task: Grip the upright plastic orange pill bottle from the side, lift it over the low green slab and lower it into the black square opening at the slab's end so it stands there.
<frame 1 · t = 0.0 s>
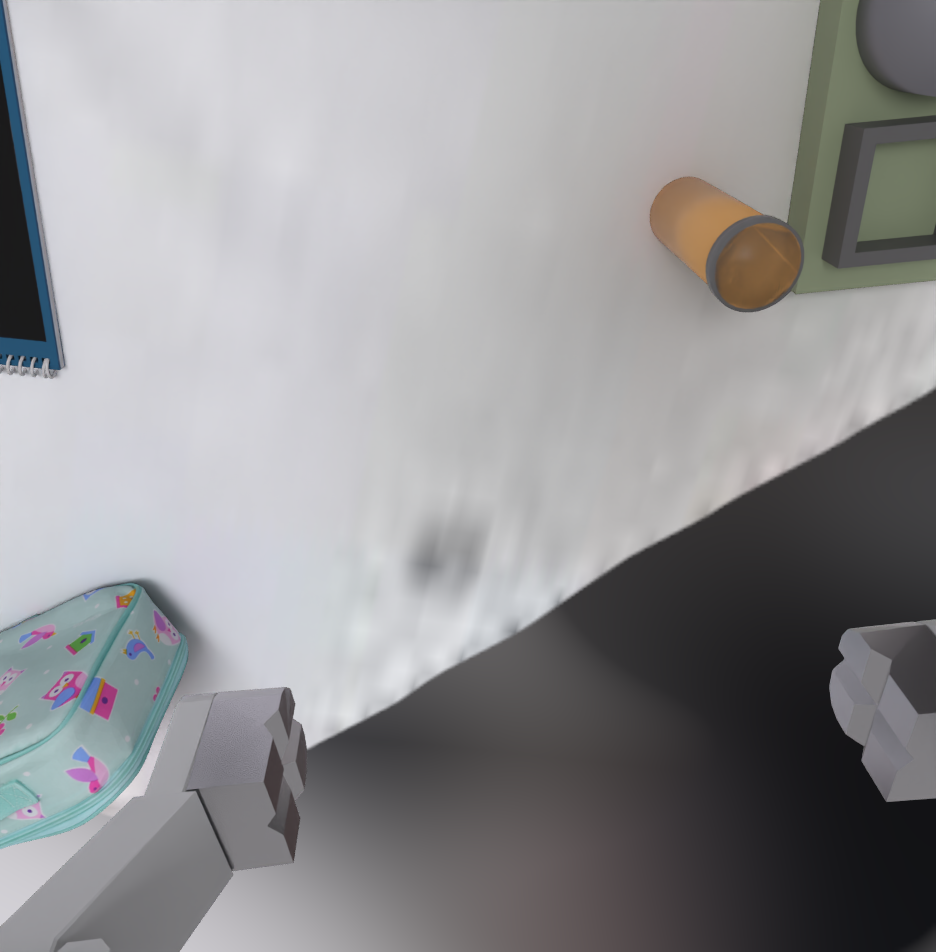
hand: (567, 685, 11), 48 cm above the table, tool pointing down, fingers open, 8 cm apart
orange pill bottle: (683, 212, 54), on the table
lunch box: (68, 642, 73), on the table
green slab: (889, 104, 51), on the table
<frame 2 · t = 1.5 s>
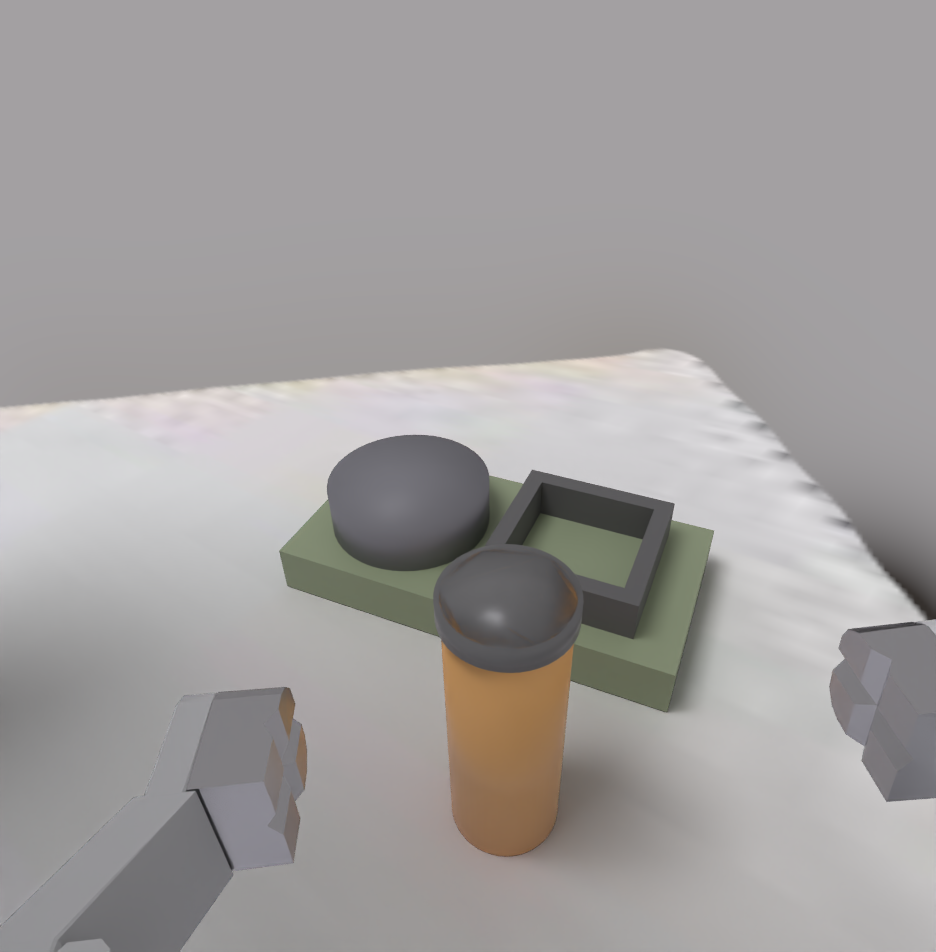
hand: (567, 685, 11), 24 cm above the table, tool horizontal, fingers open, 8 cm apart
orange pill bottle: (504, 802, 35), on the table
green slab: (498, 575, 47), on the table
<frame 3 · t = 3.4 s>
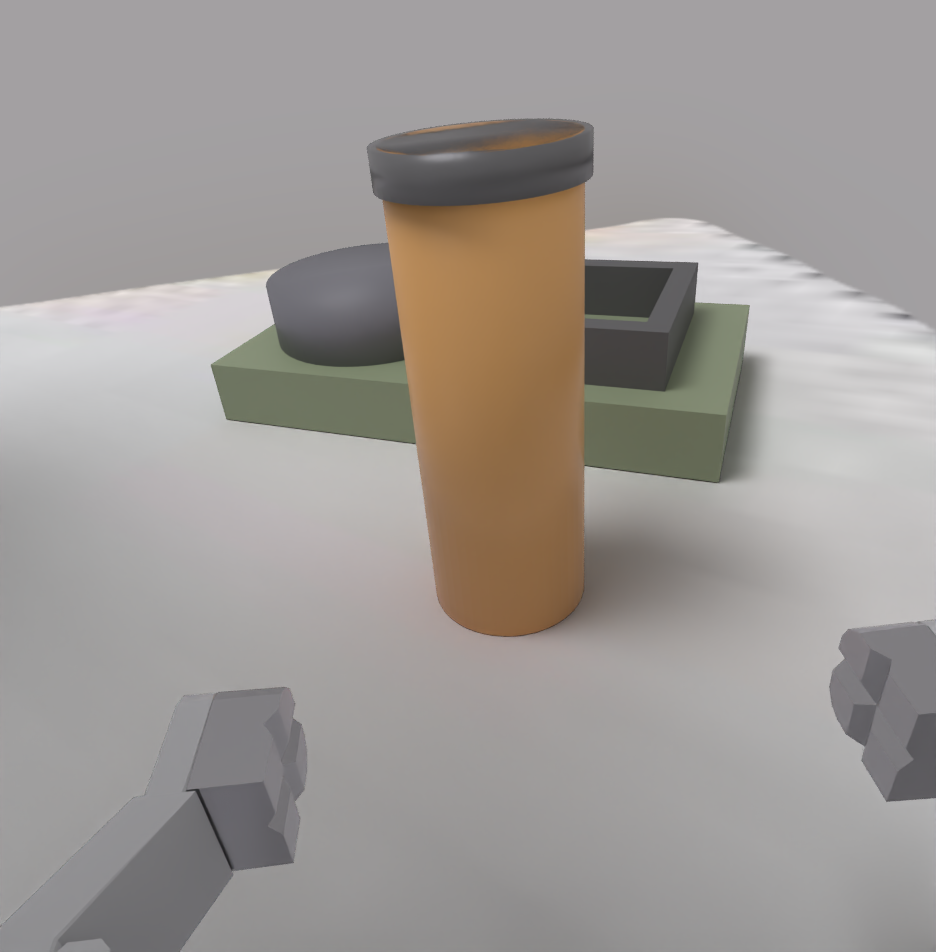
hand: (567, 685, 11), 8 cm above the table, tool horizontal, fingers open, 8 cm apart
orange pill bottle: (509, 583, 25), on the table
green slab: (487, 389, 38), on the table
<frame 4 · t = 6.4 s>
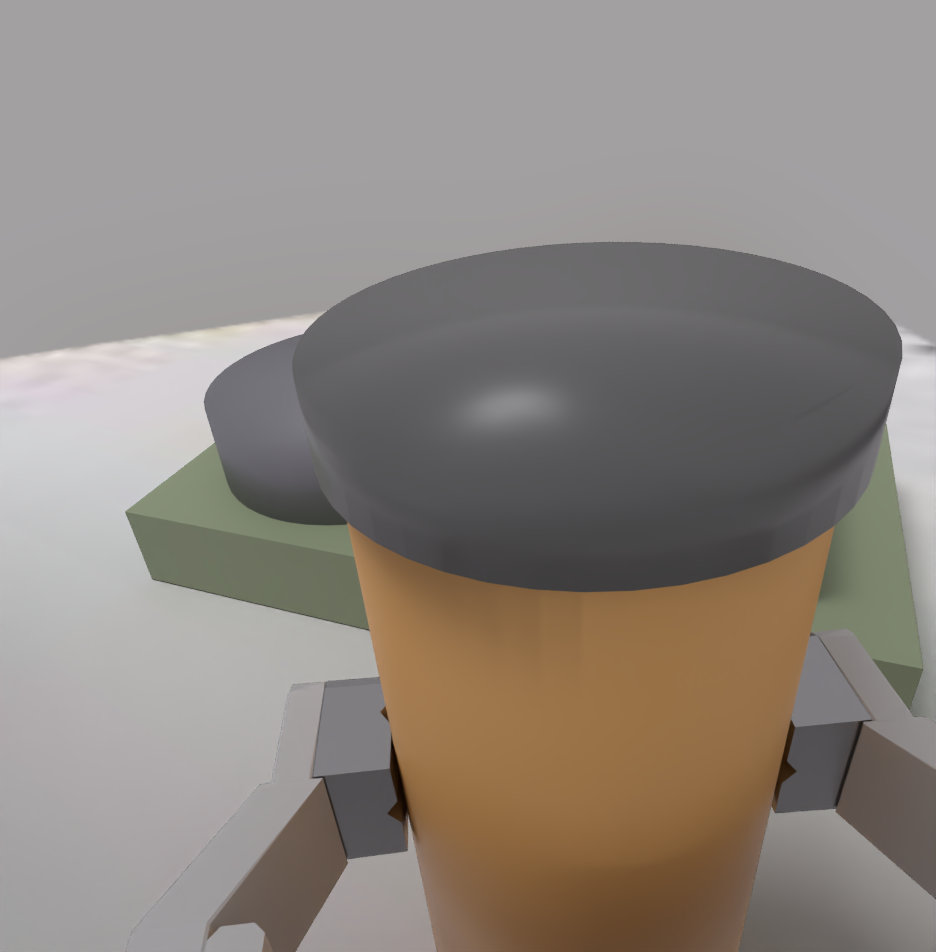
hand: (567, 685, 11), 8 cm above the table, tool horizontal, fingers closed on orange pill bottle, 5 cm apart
green slab: (515, 536, 27), on the table
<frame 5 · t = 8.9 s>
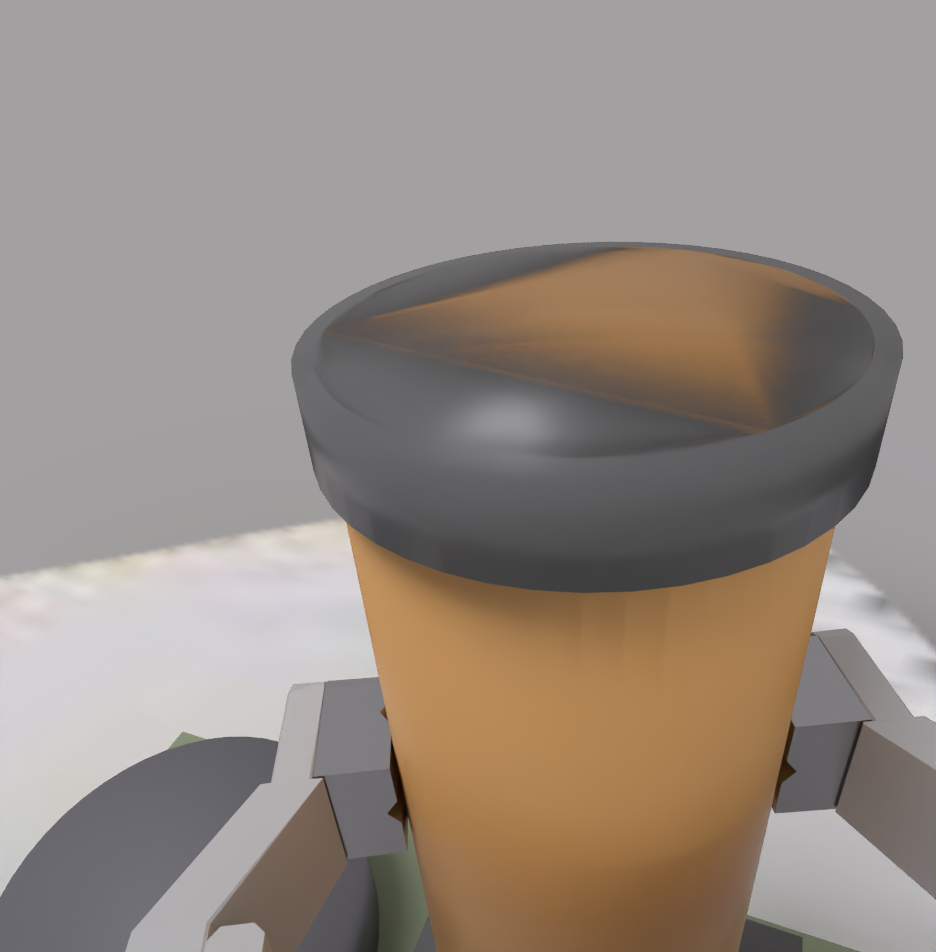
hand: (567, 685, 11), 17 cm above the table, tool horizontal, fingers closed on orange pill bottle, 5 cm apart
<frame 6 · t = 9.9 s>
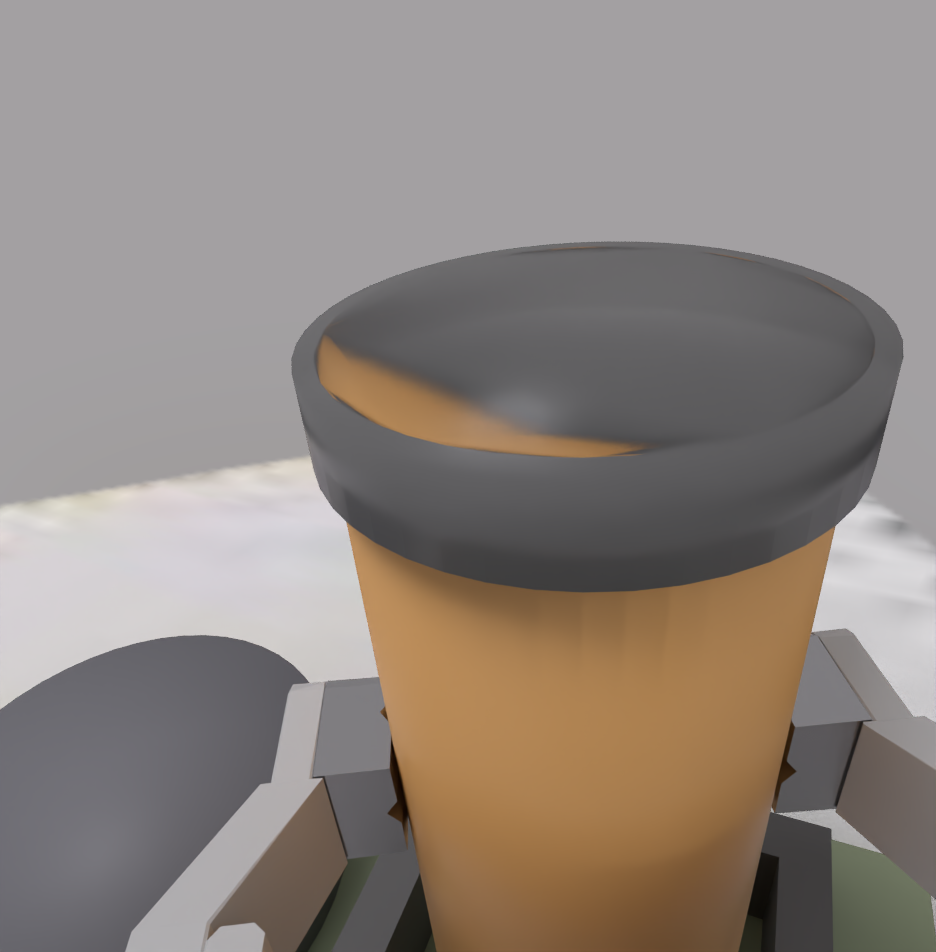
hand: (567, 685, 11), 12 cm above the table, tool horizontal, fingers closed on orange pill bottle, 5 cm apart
when the fingers open (12 cm above the table, at t = 10.4 s): orange pill bottle stays where it is, resting on green slab.
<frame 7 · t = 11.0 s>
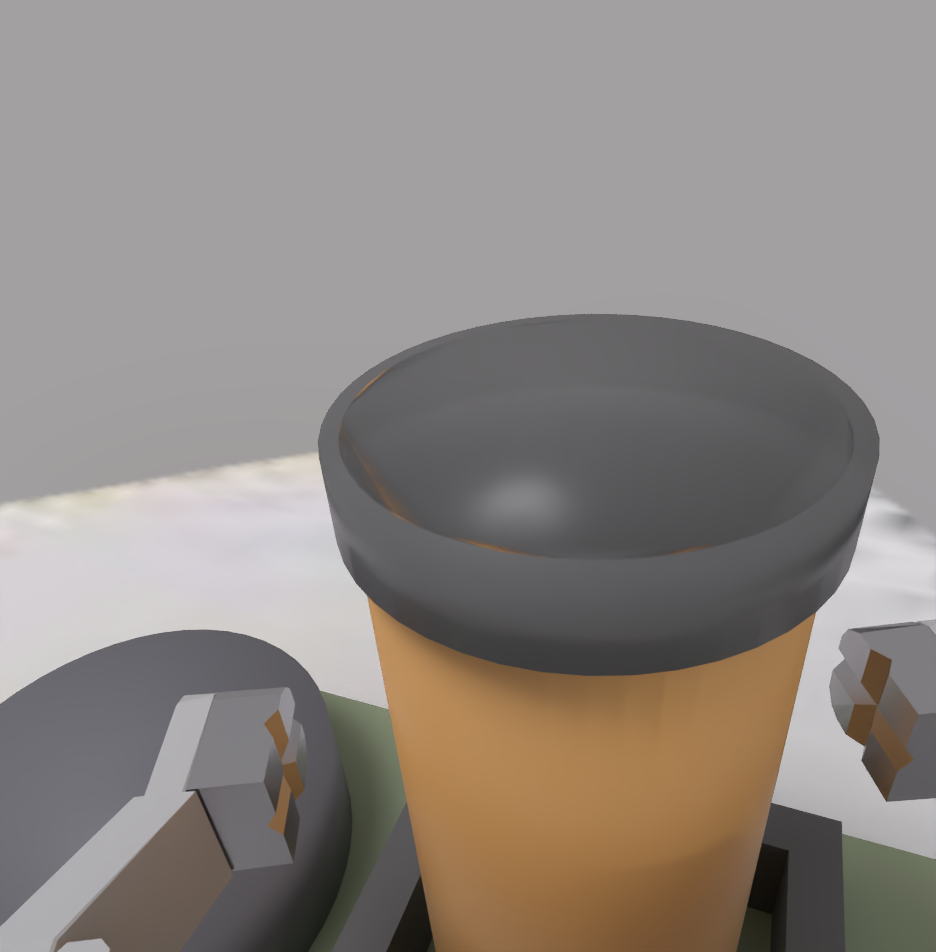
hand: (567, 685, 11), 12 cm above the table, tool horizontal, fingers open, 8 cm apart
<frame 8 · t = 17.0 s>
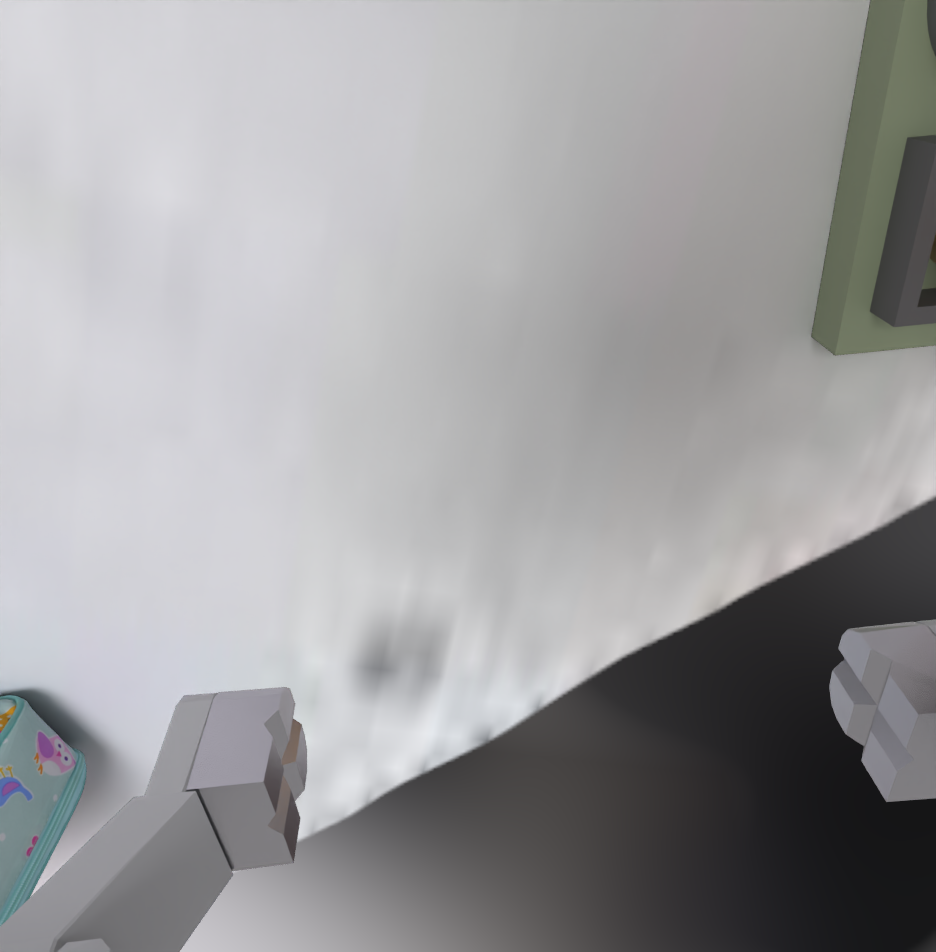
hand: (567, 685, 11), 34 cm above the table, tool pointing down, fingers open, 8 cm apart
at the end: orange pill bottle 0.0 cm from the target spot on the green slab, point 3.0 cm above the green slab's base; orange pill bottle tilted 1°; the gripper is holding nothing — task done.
